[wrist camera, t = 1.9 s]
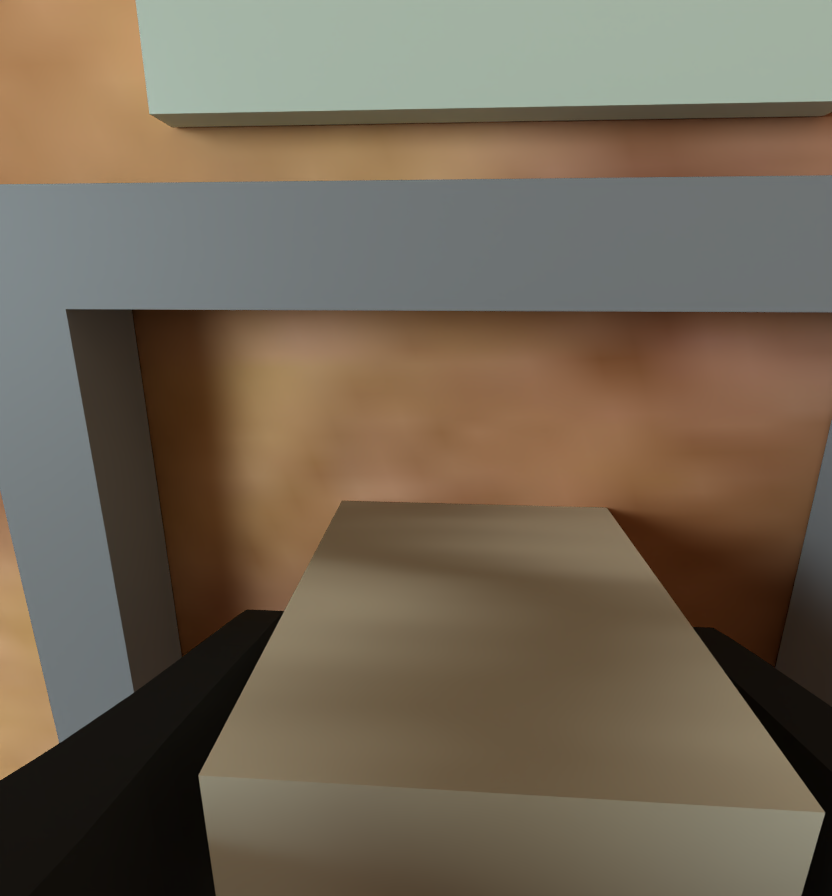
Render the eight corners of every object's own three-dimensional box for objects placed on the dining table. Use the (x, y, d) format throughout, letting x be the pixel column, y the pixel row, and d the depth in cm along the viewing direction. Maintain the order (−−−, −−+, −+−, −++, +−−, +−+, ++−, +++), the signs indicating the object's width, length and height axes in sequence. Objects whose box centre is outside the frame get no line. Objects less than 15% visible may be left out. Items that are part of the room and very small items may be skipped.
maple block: (350, 711, 11) (250, 1132, 5) (342, 500, 9) (198, 775, 4) (581, 723, 10) (719, 1178, 5) (606, 507, 9) (824, 812, 4)
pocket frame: (149, 876, 12) (108, 954, 11) (21, 204, 8) (-71, 185, 7) (792, 921, 11) (842, 1014, 10) (997, 195, 7) (1132, 172, 6)
